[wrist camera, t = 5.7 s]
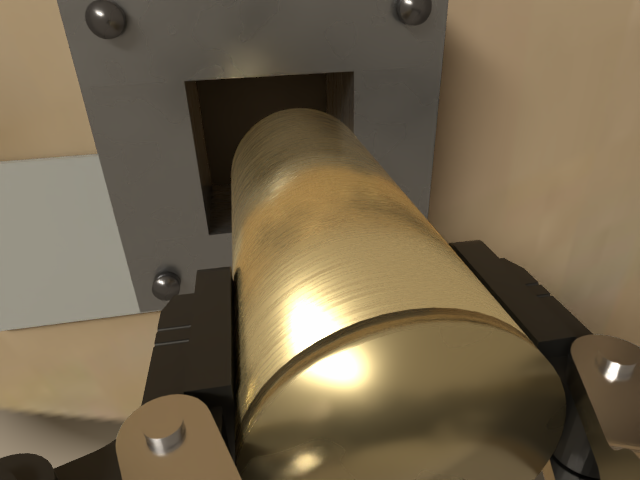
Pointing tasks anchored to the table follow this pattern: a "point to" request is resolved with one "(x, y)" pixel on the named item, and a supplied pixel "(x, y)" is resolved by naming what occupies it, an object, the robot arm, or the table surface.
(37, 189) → the rubber mat
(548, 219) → the table surface
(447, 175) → the table surface
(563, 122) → the table surface
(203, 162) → the grey square socket block
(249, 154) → the brass cylindrical shaft
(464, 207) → the table surface
